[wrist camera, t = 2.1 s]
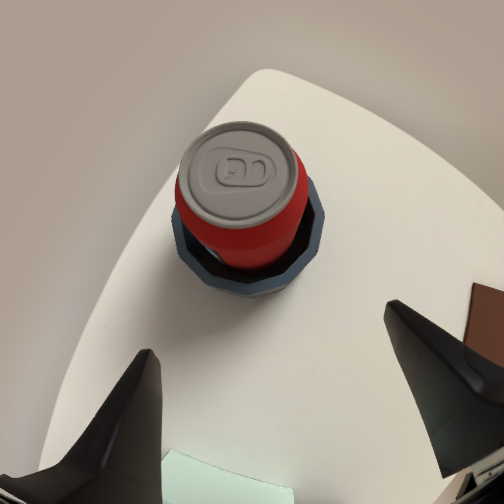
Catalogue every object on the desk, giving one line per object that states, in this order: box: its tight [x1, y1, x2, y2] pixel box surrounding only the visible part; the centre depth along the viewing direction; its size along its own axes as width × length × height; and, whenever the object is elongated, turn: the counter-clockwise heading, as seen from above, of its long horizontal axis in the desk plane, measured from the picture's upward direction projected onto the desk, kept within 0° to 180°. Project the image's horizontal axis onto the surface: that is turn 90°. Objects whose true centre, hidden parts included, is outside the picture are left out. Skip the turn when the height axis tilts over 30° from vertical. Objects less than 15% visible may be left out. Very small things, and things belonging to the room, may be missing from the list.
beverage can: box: [175, 121, 309, 275], centre depth 18 cm, size 7×7×12 cm
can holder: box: [171, 176, 325, 298], centre depth 21 cm, size 10×10×6 cm
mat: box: [464, 283, 504, 368], centre depth 20 cm, size 9×9×1 cm
